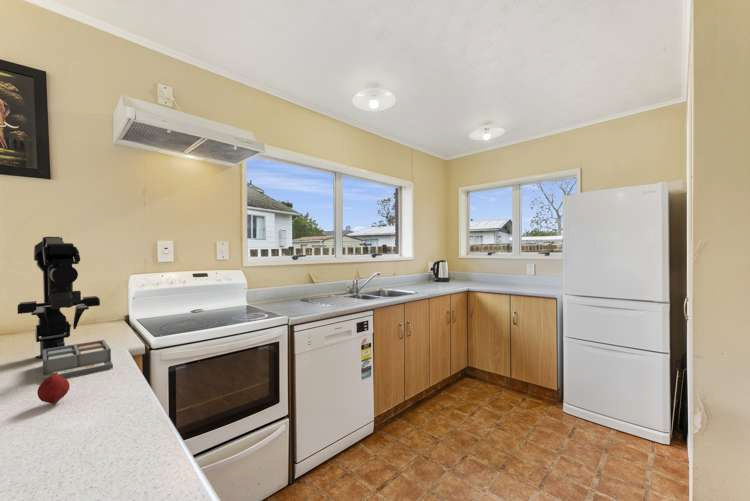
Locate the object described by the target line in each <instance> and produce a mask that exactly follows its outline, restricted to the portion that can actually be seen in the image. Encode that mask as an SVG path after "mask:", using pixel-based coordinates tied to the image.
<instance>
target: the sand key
mask: <svg viewBox="0 0 750 501" xmlns="http://www.w3.org/2000/svg"><path fill="white" fill-rule="evenodd" d="M100 350H104V348H99V349H93V350H87V351H81V352H80V354H83V353H88V352H94V351H100Z"/></svg>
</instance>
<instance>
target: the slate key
mask: <svg viewBox="0 0 750 501" xmlns="http://www.w3.org/2000/svg"><path fill="white" fill-rule="evenodd" d="M68 350H73V349H72V348H68V349H62V350H56V351H50V352H48V354H50V353H56V352H62V351H68Z"/></svg>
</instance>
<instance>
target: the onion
mask: <svg viewBox="0 0 750 501" xmlns="http://www.w3.org/2000/svg"><path fill="white" fill-rule="evenodd" d="M69 391H70V382H69V381H68V378H64V377H62V376H59V375H58V373H57V372H54V373H52V374H51V375H50V376H49V377H48V378H47V379H45V380H44V379H43V381H42V382H41V383H40V384H39V386H38V389H37V392H36V393H37V396H38V398H39V400H40V401H41V402H43V403H48V404H51V405H55V404H57V403H59V401H60V400H62V399H63V398H64V397H65V396H66V395H67V394H68V392H69Z"/></svg>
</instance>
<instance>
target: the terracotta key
mask: <svg viewBox="0 0 750 501" xmlns="http://www.w3.org/2000/svg"><path fill="white" fill-rule="evenodd" d="M98 345H101V344H100V343H99V344H93V345H87V346H80V347H78V349H80V348H86V347H92V346H98Z"/></svg>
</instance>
